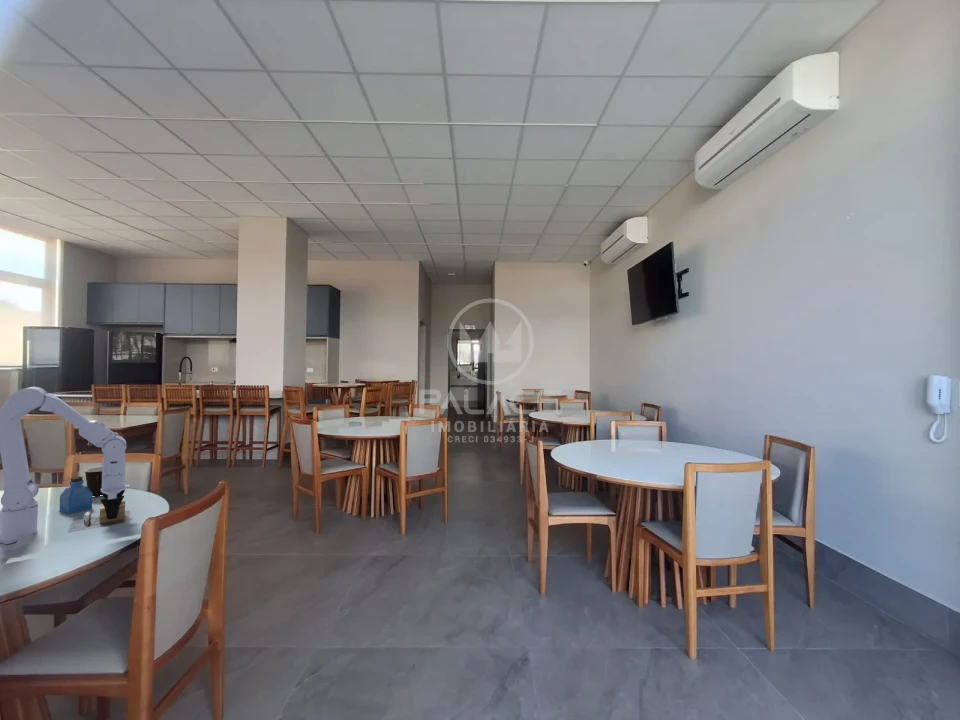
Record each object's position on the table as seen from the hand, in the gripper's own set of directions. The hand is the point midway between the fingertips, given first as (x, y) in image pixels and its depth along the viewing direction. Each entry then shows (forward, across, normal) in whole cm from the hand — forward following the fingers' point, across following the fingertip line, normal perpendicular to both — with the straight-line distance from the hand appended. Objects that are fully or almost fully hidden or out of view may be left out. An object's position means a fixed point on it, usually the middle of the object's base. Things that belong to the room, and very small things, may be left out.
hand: (112, 515), depth 135 cm
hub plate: (+2, 0, +3) cm, 3 cm away
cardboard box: (+1, 0, 0) cm, 1 cm away
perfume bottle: (+2, +18, +10) cm, 21 cm away
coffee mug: (+2, +38, +6) cm, 38 cm away
